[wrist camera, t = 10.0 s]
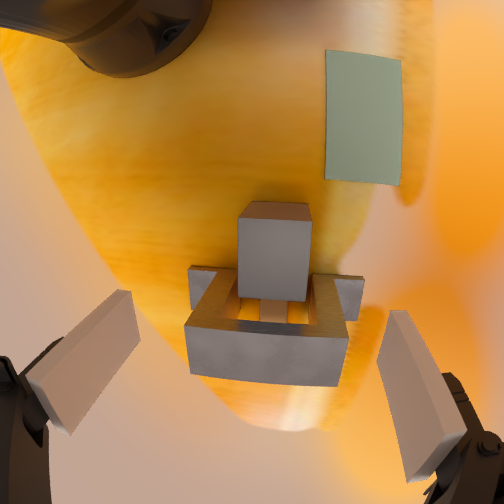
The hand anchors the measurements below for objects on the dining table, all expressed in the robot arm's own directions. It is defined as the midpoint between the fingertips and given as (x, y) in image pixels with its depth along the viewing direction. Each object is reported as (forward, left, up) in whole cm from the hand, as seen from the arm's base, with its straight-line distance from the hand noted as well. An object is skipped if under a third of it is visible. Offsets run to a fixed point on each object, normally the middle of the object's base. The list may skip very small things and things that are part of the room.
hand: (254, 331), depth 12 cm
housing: (+6, 0, -16) cm, 17 cm away
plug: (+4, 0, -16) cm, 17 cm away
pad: (-11, +8, -16) cm, 21 cm away
